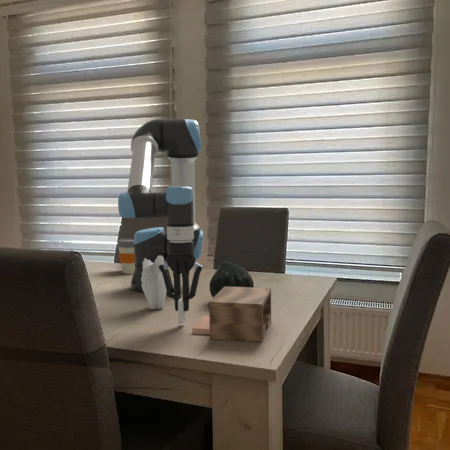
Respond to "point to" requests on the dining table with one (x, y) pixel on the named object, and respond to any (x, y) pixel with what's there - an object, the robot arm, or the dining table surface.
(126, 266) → the reusable coffee cup
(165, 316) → the dining table surface
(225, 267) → the squash
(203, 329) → the tile
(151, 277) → the shell sculpture
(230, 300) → the shelf
